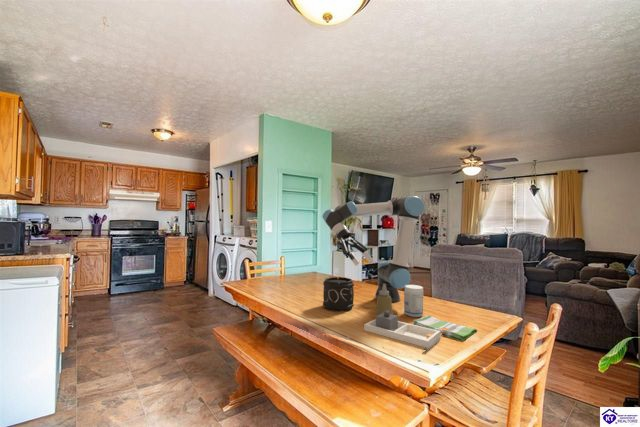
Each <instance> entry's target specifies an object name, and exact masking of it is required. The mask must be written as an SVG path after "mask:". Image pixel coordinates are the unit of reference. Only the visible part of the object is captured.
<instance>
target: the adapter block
mask: <svg viewBox="0 0 640 427" xmlns="http://www.w3.org/2000/svg"><path fill="white" fill-rule="evenodd" d="M398 317H399V316H398V315H395V314H390V311H384V313H382V314H380V315H378V316H377V315H376V316H375V319H376V327H380V328H383V329H387V330H391V331H395V330H397V329H398V321H399V318H398Z"/></svg>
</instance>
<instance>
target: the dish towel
mask: <svg viewBox="0 0 640 427" xmlns="http://www.w3.org/2000/svg"><path fill="white" fill-rule="evenodd" d="M412 325H417V326H421V327H425V328H429V329H433V330H438V331H440V336H444V337H446V338H449V339H450V338H451V339H454V340H457V341H460V342H462V341H464V339H465V340H466V339H468V338H469V337H471V336H472V335H474V334H475V333H477V332H478V329H477V328H474V327H473V328H472V327H469V326H464V325H461V324H458V323H453V322H451V321H447V320H442V319H438V318H436V317H434V316H432V315H430V314H429V315H425V316H423V317H421V318H418V319H413V323H412ZM443 328H444V329H443ZM475 331H476V332H475Z"/></svg>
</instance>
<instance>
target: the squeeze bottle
mask: <svg viewBox="0 0 640 427" xmlns="http://www.w3.org/2000/svg"><path fill="white" fill-rule="evenodd" d="M379 294H380V295H378V297H377V300H376V307H375V308H376V309H375V314H376V316H378V315H380V314H382V313H384V311H390V314H392V315H394V313H393V305H392V303H393V302H391V297H390V296H389V291H387V289H386V284H383V287H382V290H381V291H379Z"/></svg>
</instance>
